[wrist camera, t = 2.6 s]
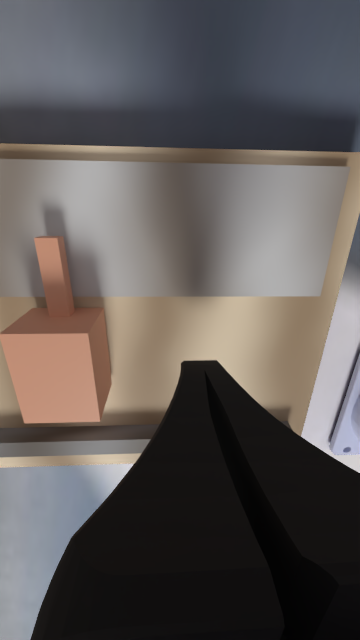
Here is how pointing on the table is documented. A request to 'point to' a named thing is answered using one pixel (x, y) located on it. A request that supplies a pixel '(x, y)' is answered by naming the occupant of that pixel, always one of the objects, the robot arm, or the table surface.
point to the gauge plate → (176, 276)
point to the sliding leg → (58, 349)
